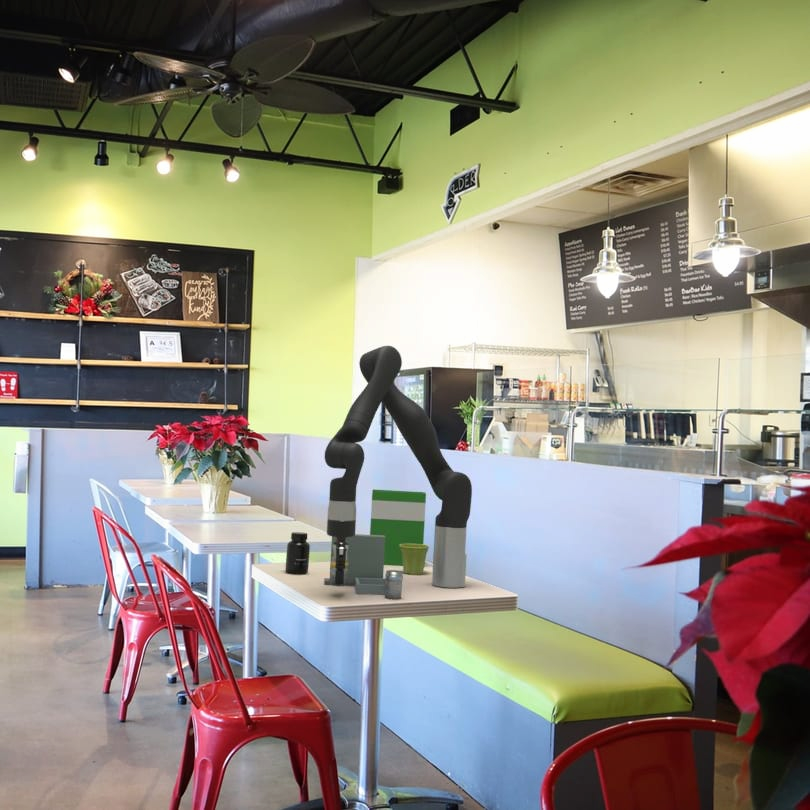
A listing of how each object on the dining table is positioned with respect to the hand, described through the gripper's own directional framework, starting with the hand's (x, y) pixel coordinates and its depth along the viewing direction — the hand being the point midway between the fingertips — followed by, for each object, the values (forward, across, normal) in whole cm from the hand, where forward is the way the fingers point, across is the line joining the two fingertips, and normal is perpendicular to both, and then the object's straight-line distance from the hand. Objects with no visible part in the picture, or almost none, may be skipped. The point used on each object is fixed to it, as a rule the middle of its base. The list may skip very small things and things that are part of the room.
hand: (338, 582), depth 243 cm
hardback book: (+4, -60, +21) cm, 64 cm away
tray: (+4, -9, +11) cm, 14 cm away
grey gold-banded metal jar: (+1, 0, 0) cm, 1 cm away
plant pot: (+4, -42, +25) cm, 49 cm away
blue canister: (+4, 0, +14) cm, 15 cm away
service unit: (+4, -18, +6) cm, 19 cm away
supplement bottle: (+4, -34, -11) cm, 36 cm away
